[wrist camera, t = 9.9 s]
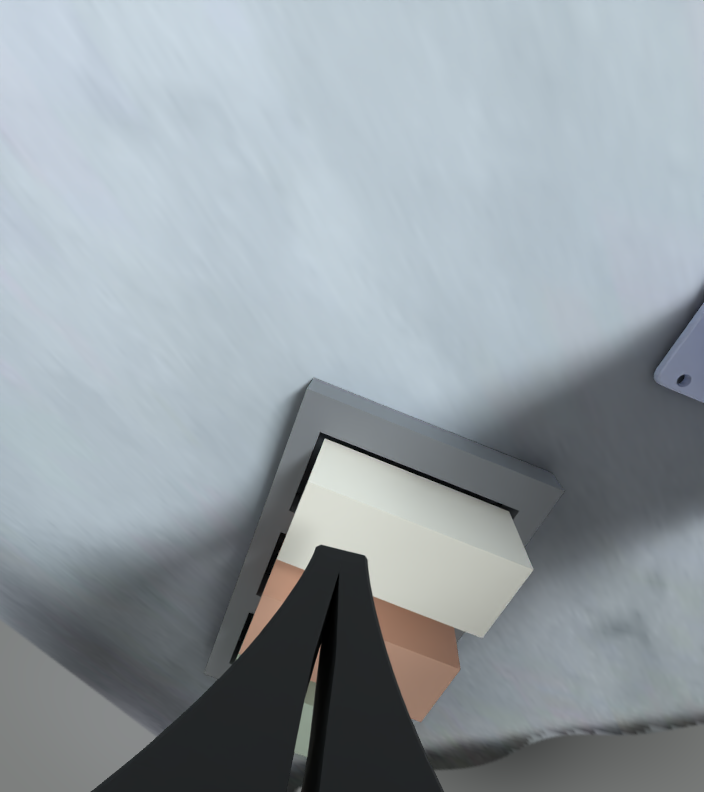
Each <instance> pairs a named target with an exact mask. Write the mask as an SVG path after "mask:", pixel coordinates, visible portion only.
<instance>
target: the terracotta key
mask: <svg viewBox="0 0 704 792" xmlns="http://www.w3.org/2000/svg"><path fill="white" fill-rule="evenodd" d="M284 540H285V539H284ZM283 542H284V541H283ZM282 545H283V544H282ZM281 547H282V546H281ZM280 550H281V549H280ZM279 552H280V551H279ZM278 555H279V554H278ZM277 557H278V556H277ZM304 571H305V570H303V569H301V568H298V567H296V566H293V565H290V564H288V563H285V562H283V561H280V560H277V559H276V561H275V564H274V566H273V569H272V571H271V573H270V576H269V578H268V581H267V583H266V586H265V588H264V591H263V593H262V596H261V598H260V601H259V604H258V606H257V609H256V611H255V614H254V616H253V619H252V621H251V624H250V626H249V629H248V631H247V634H246V637H245V639H244V642H243V644H242V647H241V649H240V652H239V654H242V653H243V652H244V651H245V650H246V649H247V648H248V646H249V645H250V644H251V643H252V642H253V641H254V639H255V638H256V637H257V636H258V635H259V633H260V632H261V631H262V630H263V628H264V627H265V626H266V625H267V623H268V622H269V621H270V620H271V618H272V617H273V616H274V614H275V613H276V612H277V611H278V609H279V608H280V607H281V605H282V604H283V602H284V601H285V600H286V598H287V597H288V595H289V594H290V592H291V591H292V589H293V588H294V586H295V585H296V584H297V582H298V580H299V579H300V577H301V576H302V574H303V572H304ZM373 599H374V604H375V609H376V613H377V617H378V620H379V624H380V628H381V632H382V636H383V639H384V643H385V646H386V650H387V653H388V656H389V659H390V662H391V665H392V668H393V672H394V674H395V677H396V680H397V683H398V686H399V689H400V691H401V694H402V697H403V699H404V702H405V705H406V707H407V710H408V712H409V715H410V717H411V719H414V720H416V721H419V722H421V721H422V720H423V719H424V717H425V716H426V715H427V713H428V712H429V711H430V709H431V708H432V707H433V705H434V704H435V703H436V701H437V700H438V699H439V697H440V696H441V695H442V693H443V692H444V691H445V689H446V688H447V687H448V685H449V684H450V683H451V681H452V680H453V679H454V677H455V676H456V675H457V673H458V672H459V671H460V664H459V657H458V650H457V643H456V636H455V630H454V627H452V626H449V625H446V624H444V623H441V622H439V621H436V620H433V619H431V618H428V617H426V616H423V615H420V614H418V613H415V612H413V611H410V610H407V609H405V608H402V607H400V606H397V605H394V604H392V603H389V602H387V601H384V600H381V599H379V598H376V597H374V596H373ZM320 646H321V645H320ZM319 654H320V648H319V652H318V655H317V659H316V662H315V666H314V669H313V672H312V676H311V679H310V681H313V682H315V683H316V680H317V671H318V663H319Z"/></svg>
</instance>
